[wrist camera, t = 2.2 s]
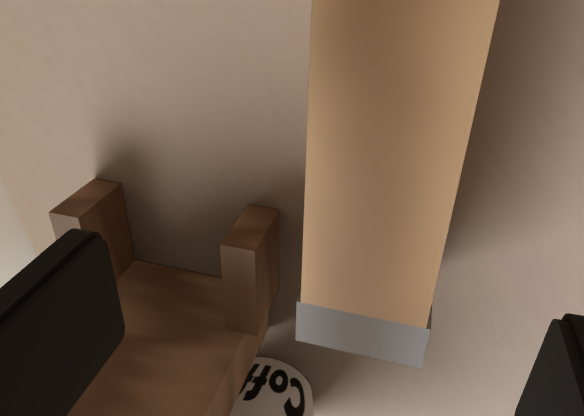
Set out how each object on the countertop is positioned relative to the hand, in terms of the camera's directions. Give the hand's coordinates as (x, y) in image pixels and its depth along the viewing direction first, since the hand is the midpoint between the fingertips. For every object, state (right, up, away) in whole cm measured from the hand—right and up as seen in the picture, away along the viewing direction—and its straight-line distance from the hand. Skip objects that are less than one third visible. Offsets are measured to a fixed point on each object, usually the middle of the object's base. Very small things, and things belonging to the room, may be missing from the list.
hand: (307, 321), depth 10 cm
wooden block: (+4, +6, +9) cm, 12 cm away
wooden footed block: (-6, 0, +16) cm, 17 cm away
